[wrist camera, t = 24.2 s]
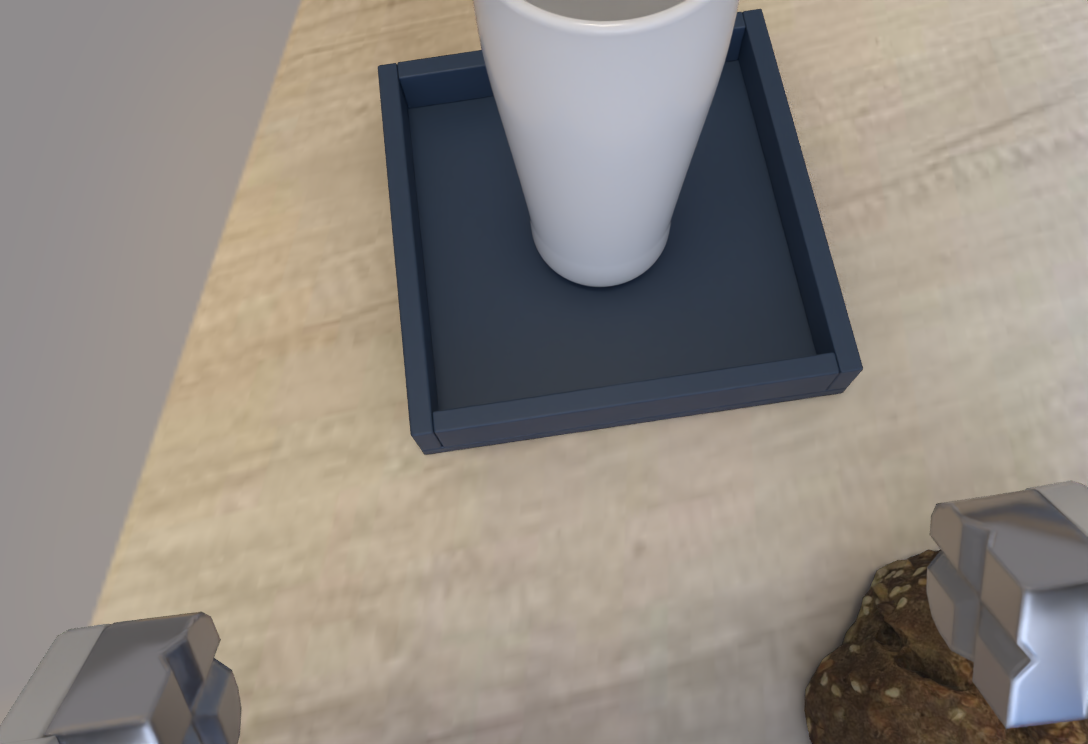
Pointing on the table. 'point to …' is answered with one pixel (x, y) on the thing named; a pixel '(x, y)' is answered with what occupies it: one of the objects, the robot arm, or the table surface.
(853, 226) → the table surface
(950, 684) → the bread roll
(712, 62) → the white cup
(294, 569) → the table surface
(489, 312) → the dark blue-gray tray
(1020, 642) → the robot arm
